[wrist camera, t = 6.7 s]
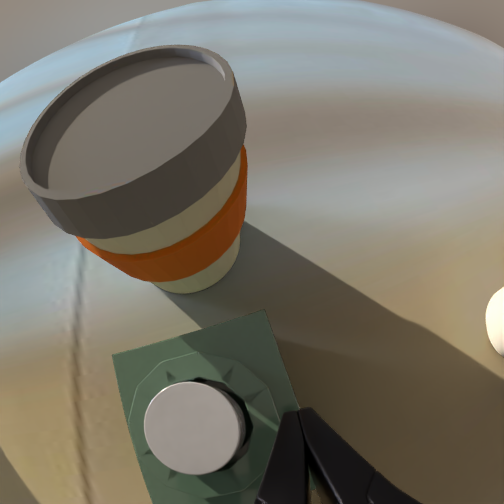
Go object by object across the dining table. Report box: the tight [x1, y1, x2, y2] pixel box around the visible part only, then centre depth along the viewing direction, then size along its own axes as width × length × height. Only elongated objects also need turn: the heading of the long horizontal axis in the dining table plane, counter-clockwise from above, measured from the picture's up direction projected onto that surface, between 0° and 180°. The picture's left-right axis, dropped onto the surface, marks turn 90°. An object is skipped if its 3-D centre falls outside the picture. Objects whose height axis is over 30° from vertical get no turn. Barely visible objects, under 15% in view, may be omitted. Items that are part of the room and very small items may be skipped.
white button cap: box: [144, 382, 246, 475], centre depth 12 cm, size 4×4×2 cm
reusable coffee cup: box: [19, 45, 247, 294], centre depth 20 cm, size 13×13×15 cm
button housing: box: [112, 309, 316, 504], centre depth 17 cm, size 10×9×9 cm
